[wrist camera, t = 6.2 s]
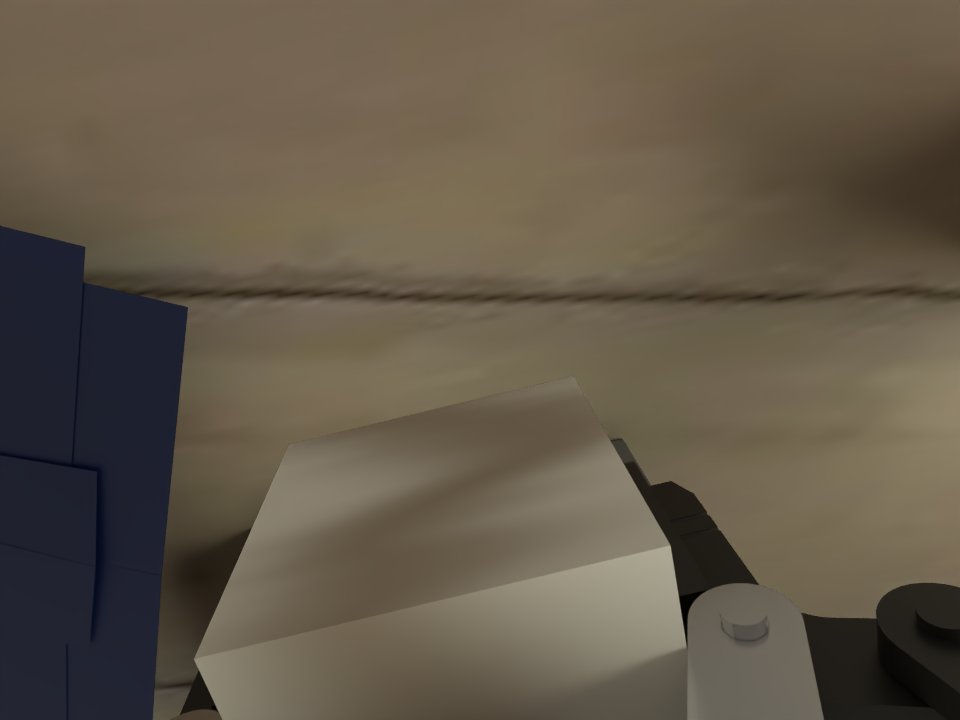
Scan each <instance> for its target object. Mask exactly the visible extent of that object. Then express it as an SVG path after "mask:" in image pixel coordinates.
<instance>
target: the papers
mask: <svg viewBox="0 0 960 720" xmlns="http://www.w3.org/2000/svg"><path fill="white" fill-rule="evenodd" d="M84 258H85V247H83V246H79V245H75V244H71V243H67V242H63V241H59V240H55V239H51V238H46V237H42V236H38V235H34V234H30V233H26V232H22V231H18V230H14V229H10V228H6V227H2V226H0V720H153V704H154V688H155V672H156V656H157V640H158V624H159V608H160V592H161V576H162V565H163V555H164V545H165V535H166V525H167V515H168V504H169V494H170V484H171V474H172V464H173V454H174V443H175V433H176V423H177V413H178V403H179V393H180V382H181V372H182V362H183V352H184V342H185V332H186V321H187V311H188V307H185V306H181V305H176V304H172V303H168V302H164V301H159V300H155V299H151V298H147V297H142V296H138V295H134V294H130V293H125V292H121V291H117V290H113V289H108V288H104V287H100V286H95V285H91V284H87V283H83V274H84Z"/></svg>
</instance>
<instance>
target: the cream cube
mask: <svg viewBox="0 0 960 720" xmlns="http://www.w3.org/2000/svg"><path fill="white" fill-rule="evenodd" d="M194 660H195V662H196V665H197V667H198V669H199V671H200V673H201V675H202V677H203V679H204V682H205V684H206V686H207V688H208V690H209V692H210V694H211V697H212V699H213V701H214V703H215V705H216V707H217V709H218V711H219V714H220V716H221V718H222V720H687V679H688V651H687V645H686V639H685V633H684V626H683V620H682V614H681V608H680V601H679V595H678V589H677V583H676V577H675V570H674V564H673V558H672V552H671V545H670V544H669V542H668V540H667V538H666V537H665V535H664V533H663V531H662V530H661V528H660V526H659V525H658V523H657V521H656V519H655V518H654V516H653V514H652V512H651V511H650V509H649V507H648V505H647V504H646V502H645V500H644V498H643V497H642V495H641V493H640V491H639V490H638V488H637V486H636V484H635V483H634V481H633V479H632V478H631V476H630V474H629V472H628V471H627V469H626V467H625V465H624V464H623V462H622V460H621V458H620V457H619V455H618V453H617V451H616V450H615V448H614V446H613V444H612V443H611V441H610V439H609V438H608V436H607V434H606V432H605V431H604V429H603V427H602V425H601V424H600V422H599V420H598V418H597V417H596V415H595V413H594V411H593V410H592V408H591V406H590V404H589V403H588V401H587V399H586V397H585V396H584V394H583V392H582V391H581V389H580V387H579V385H578V384H577V382H576V380H575V378H574V377H573V376H571V377H567V378H563V379H558V380H554V381H550V382H546V383H542V384H538V385H534V386H529V387H525V388H521V389H517V390H513V391H509V392H505V393H500V394H496V395H492V396H488V397H484V398H480V399H475V400H471V401H467V402H463V403H459V404H455V405H451V406H446V407H442V408H438V409H434V410H430V411H426V412H421V413H417V414H413V415H409V416H405V417H401V418H397V419H392V420H388V421H384V422H380V423H376V424H372V425H368V426H363V427H359V428H355V429H351V430H347V431H343V432H338V433H334V434H330V435H326V436H322V437H318V438H314V439H309V440H305V441H301V442H297V443H293V444H289V446H288V448H287V450H286V452H285V455H284V457H283V459H282V461H281V464H280V466H279V468H278V470H277V473H276V475H275V477H274V479H273V482H272V484H271V486H270V489H269V491H268V493H267V495H266V498H265V500H264V502H263V504H262V507H261V509H260V511H259V513H258V516H257V518H256V520H255V522H254V525H253V527H252V529H251V531H250V534H249V536H248V538H247V540H246V543H245V545H244V547H243V549H242V552H241V554H240V556H239V558H238V561H237V563H236V565H235V567H234V570H233V572H232V574H231V577H230V579H229V581H228V583H227V586H226V588H225V590H224V592H223V595H222V597H221V599H220V601H219V604H218V606H217V608H216V610H215V613H214V615H213V617H212V619H211V622H210V624H209V626H208V628H207V631H206V633H205V635H204V637H203V640H202V642H201V644H200V646H199V649H198V651H197V653H196V655H195V658H194Z"/></svg>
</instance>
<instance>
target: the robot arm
mask: <svg viewBox="0 0 960 720" xmlns="http://www.w3.org/2000/svg"><path fill="white" fill-rule="evenodd" d="M623 464H624V465H625V467H626V469H627V471H628V472H629V474H630V476H631V478H632V479H633V481H634V483H635V484H636V486H637V488H638V490H639V491H640V493H641V495H642V497H643V498H644V500H645V502H646V504H647V505H648V507H649V509H650V511H651V512H652V514H653V516H654V518H655V519H656V521H657V523H658V525H659V526H660V528H661V530H662V531H663V533H664V535H665V537H666V538H667V540H668V542H669V544H670V545H671V552H672V558H673V564H674V570H675V577H676V583H677V589H678V595H679V601H680V608H681V614H682V620H683V626H684V633H685V639H686V645H687V651H688V679H687V720H960V588H959V587H956V586H951V585H946V584H937V583H917V584H909V585H905V586H901V587H898V588H896V589H893V590H892V591H890V592H888V593H887V594H886V595H885V596H884V597H882V599H881V600H880V602H879V603H878V606H877V609H876V619H869V618H827V617H818V616H812V615H808V614H804V613H801V612H800V611H799V609H798V608H797V606H796V605H795V604H794V603H793V602H792V601H791V600H790V599H788V598H787V597H786V596H784V595H783V594H781V593H779V592H777V591H775V590H773V589H770V588H767V587H764V586H760V585H759V584H758V583H757V581H756V580H755V578H754V577H753V576H752V574H751V573H750V571H749V570H748V569H747V567H746V566H745V565H744V563H743V562H742V560H741V559H740V558H739V556H738V555H737V553H736V552H735V551H734V549H733V548H732V546H731V545H730V544H729V542H728V541H727V539H726V538H725V537H724V535H723V534H722V532H721V531H719V530H718V528H717V525H716V524H715V523H714V521H713V520H712V518H711V517H710V516H709V515H707V511H706V510H705V509H704V507H703V506H702V504H701V503H700V502H699V500H698V499H697V498H696V496H695V495H694V494H693V493H692V492H690V491H688V490H686V489H684V488H683V487H681V486H679V485H677V484H675V483H673V482H672V481H669V482H665V483H661V484H657V485H653V486H649V485H648V483H647V481H646V480H645V478H644V477H643V475H642V473H641V472H640V470H639V468H638V467H637V465H636V463H635V462H634V461H630V462H626V463H623ZM171 720H222V718H221V716H220V714H219V711H218V709H217V707H216V705H215V703H214V701H213V699H212V697H211V694H210V692H209V690H208V688H207V686H206V684H205V682H204V679H203V677H202V675H201V673H200V671H198V673H197V676H196V678H195V681H194V683H193V685H192V688H191V690H190V692H189V695H188V697H187V699H186V702H185V704H184V706H183V709H182V711H181V714H180V715H179V716H177V717H175V718H173V719H171Z"/></svg>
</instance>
